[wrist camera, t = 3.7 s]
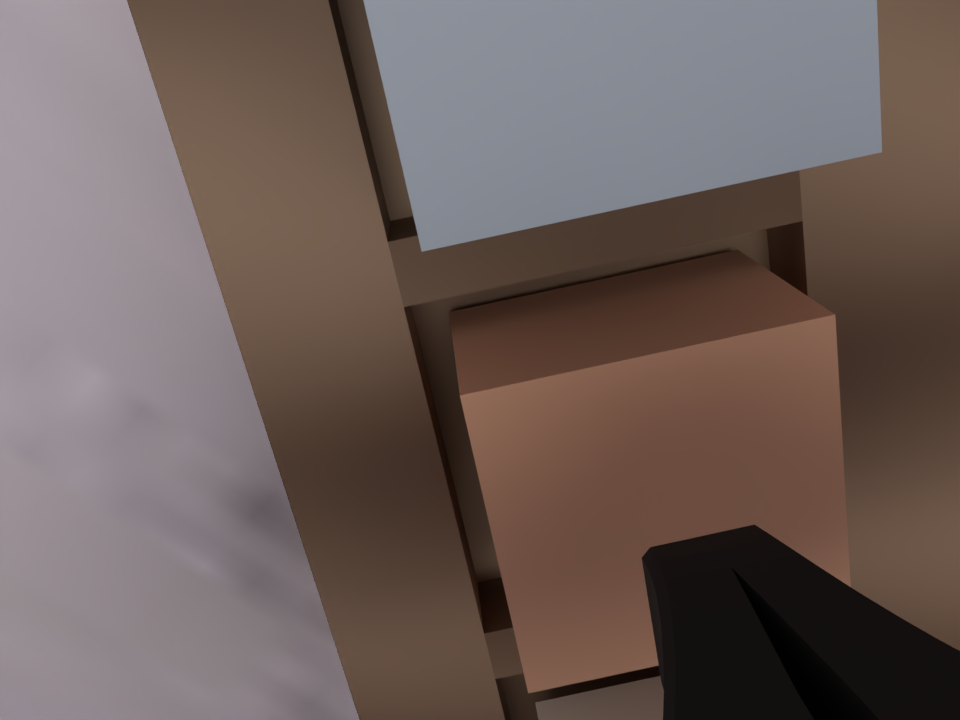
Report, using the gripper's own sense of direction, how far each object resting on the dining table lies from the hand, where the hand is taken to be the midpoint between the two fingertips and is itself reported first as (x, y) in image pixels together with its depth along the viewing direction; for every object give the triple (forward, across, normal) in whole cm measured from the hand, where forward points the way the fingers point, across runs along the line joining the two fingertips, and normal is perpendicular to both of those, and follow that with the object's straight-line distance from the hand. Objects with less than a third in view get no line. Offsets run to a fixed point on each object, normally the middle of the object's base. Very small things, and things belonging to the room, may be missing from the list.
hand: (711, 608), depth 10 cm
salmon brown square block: (+5, 0, 0) cm, 5 cm away
